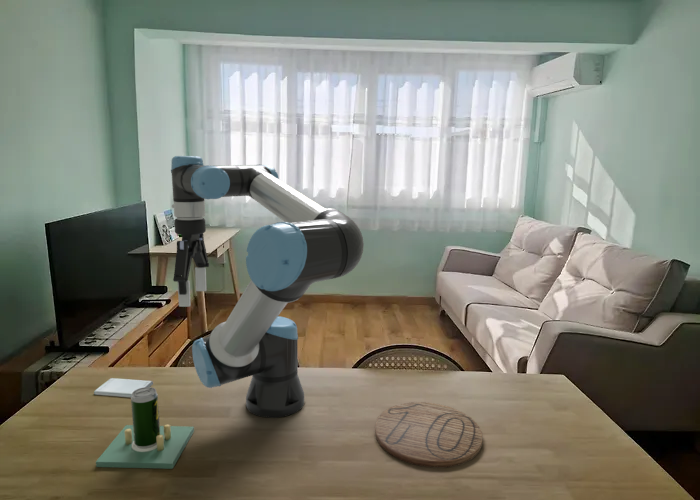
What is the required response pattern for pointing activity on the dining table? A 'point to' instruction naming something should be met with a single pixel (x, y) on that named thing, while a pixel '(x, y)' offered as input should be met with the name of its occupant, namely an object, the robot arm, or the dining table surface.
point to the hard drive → (121, 387)
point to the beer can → (145, 417)
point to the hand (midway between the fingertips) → (193, 298)
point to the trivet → (428, 434)
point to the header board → (157, 456)
